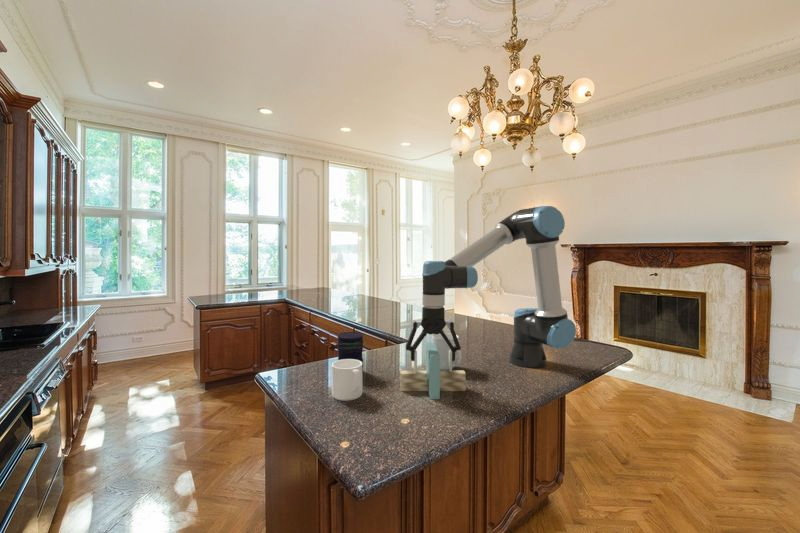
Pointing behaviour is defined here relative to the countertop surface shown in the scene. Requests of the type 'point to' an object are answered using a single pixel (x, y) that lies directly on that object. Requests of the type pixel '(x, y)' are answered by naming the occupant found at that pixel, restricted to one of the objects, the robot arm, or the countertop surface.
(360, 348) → the storage jar
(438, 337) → the mug
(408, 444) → the countertop surface
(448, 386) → the notched wooden beam
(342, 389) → the mug
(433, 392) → the pale teal block
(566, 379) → the countertop surface
